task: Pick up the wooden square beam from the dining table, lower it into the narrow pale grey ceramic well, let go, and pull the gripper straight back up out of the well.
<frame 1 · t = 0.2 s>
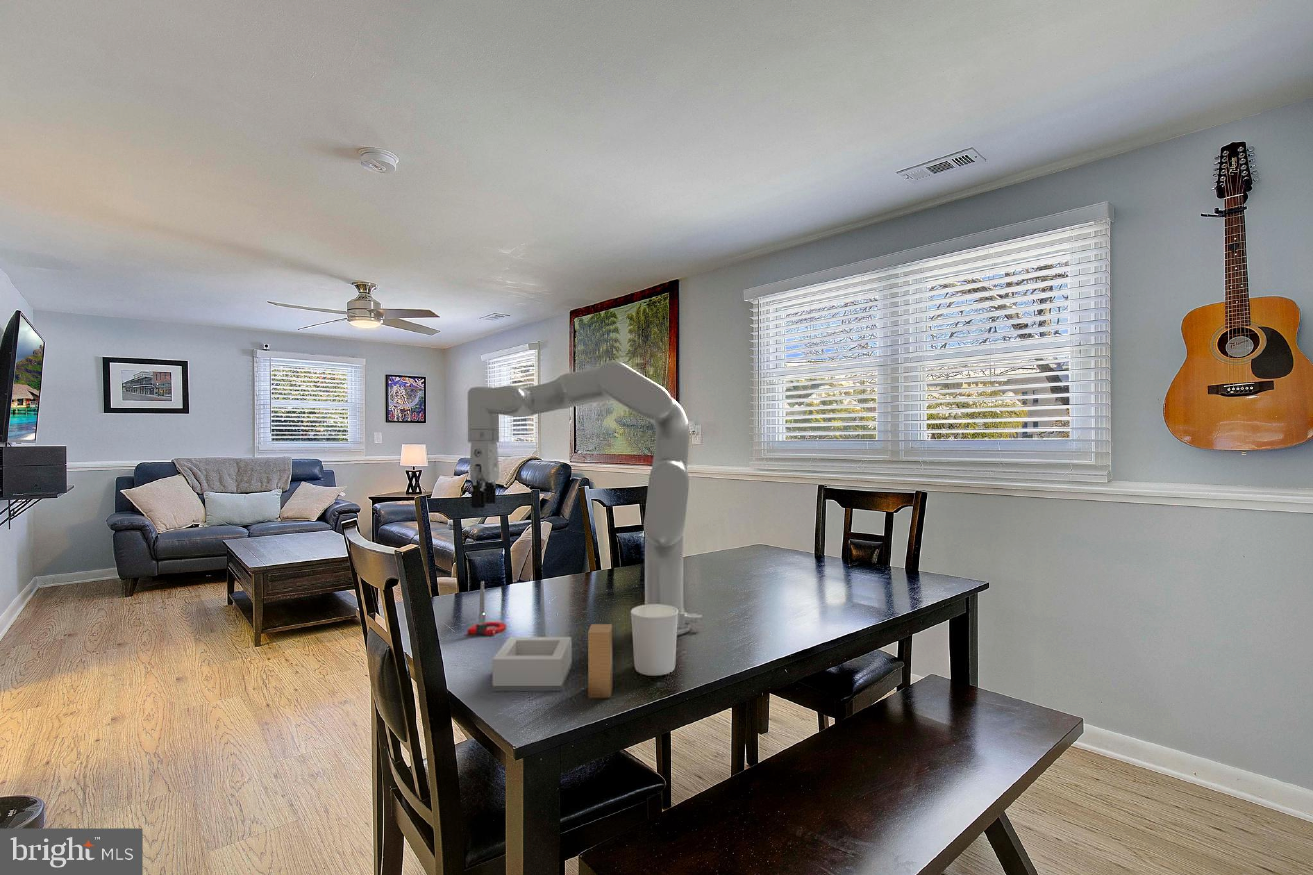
hand: (483, 505, 155), 31 cm above the table, tool pointing down, fingers open, 9 cm apart
candle holder: (654, 669, 129), on the table
wooden square beam: (600, 692, 117), on the table
well: (534, 677, 124), on the table
tow hook: (488, 631, 155), on the table
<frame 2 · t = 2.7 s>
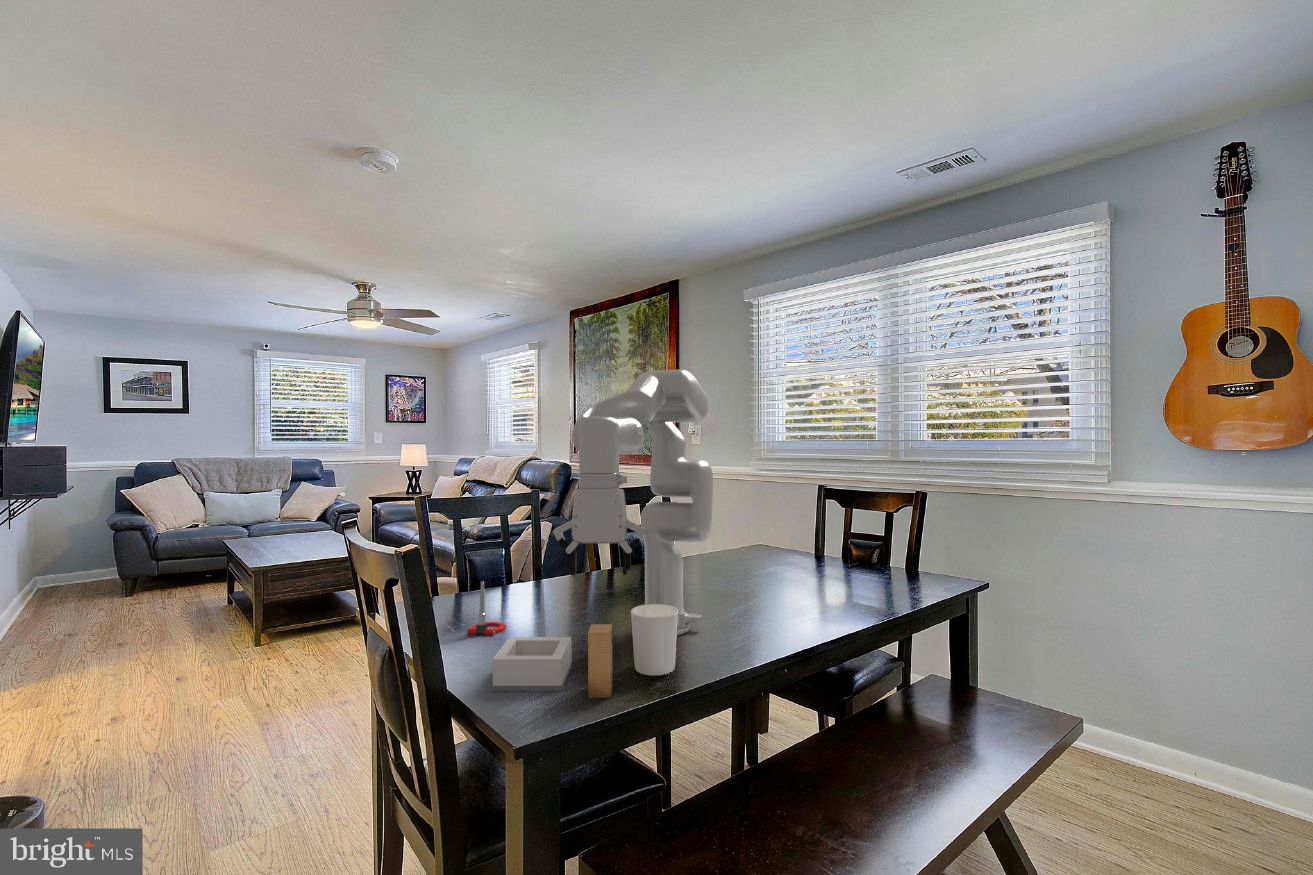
hand: (599, 573, 117), 22 cm above the table, tool pointing down, fingers open, 9 cm apart
nothing on the table moved.
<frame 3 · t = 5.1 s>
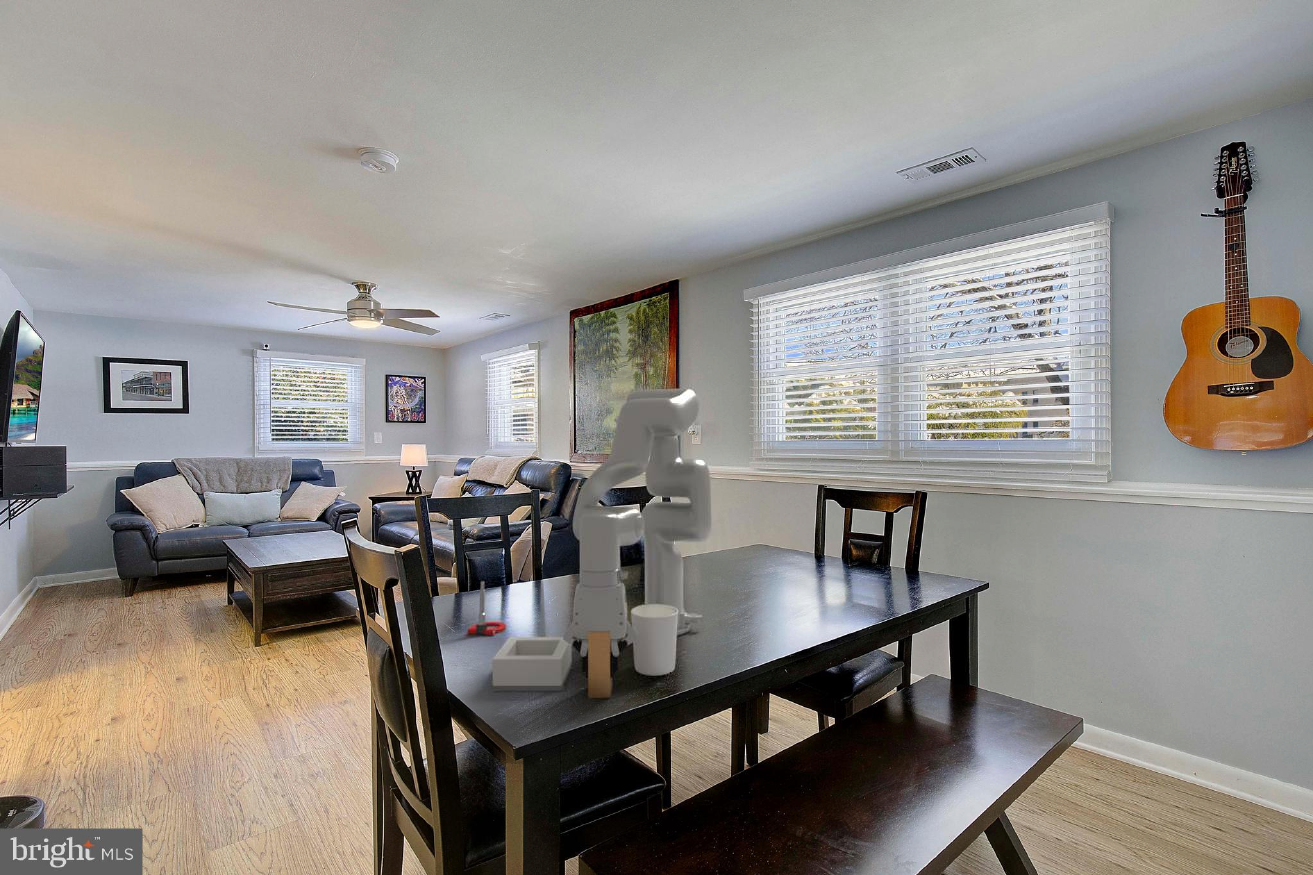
hand: (600, 674, 117), 3 cm above the table, tool pointing down, fingers closed on wooden square beam, 4 cm apart
wooden square beam: (600, 692, 117), on the table, touching gripper
everything else where it was.
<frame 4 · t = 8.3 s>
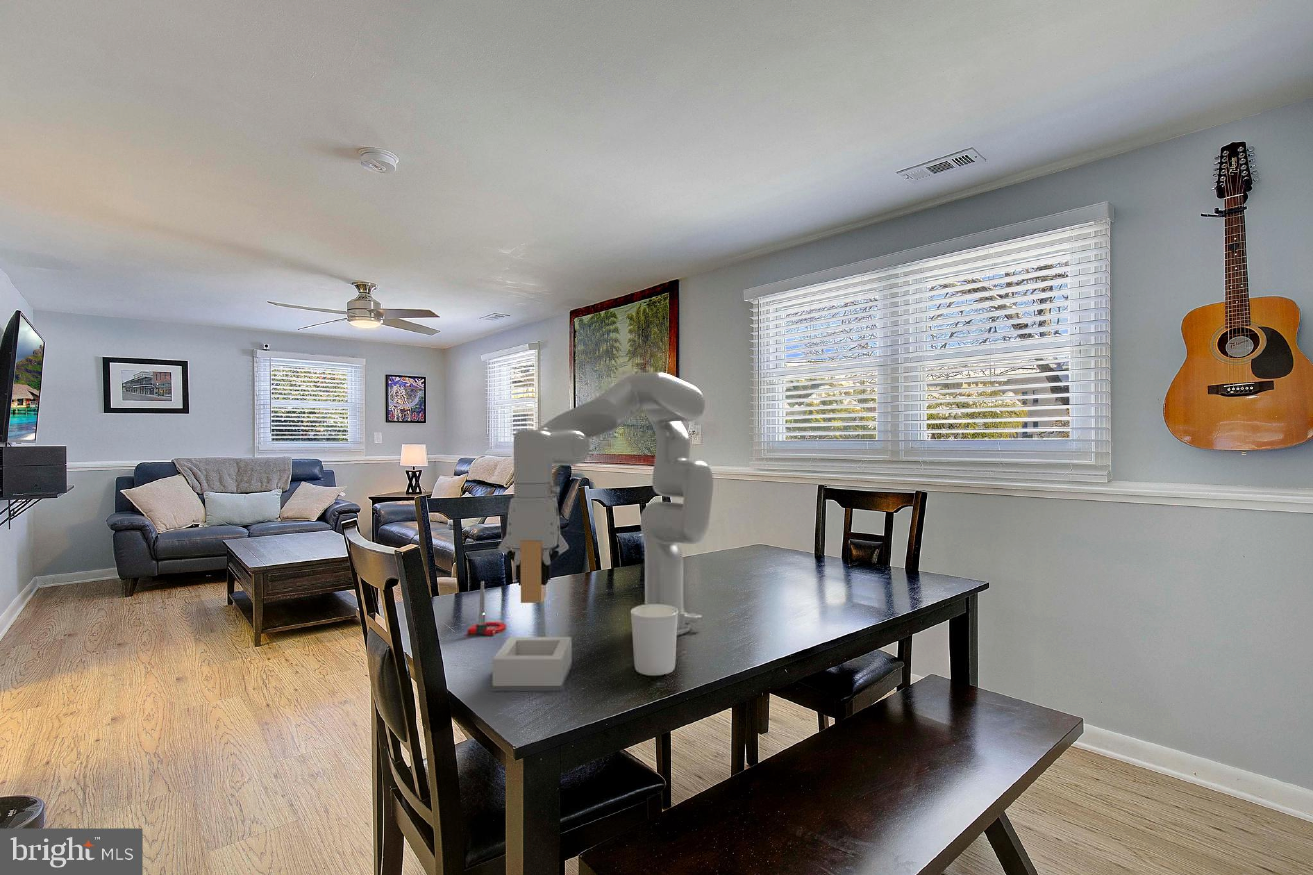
hand: (533, 582, 124), 19 cm above the table, tool pointing down, fingers closed on wooden square beam, 4 cm apart
wooden square beam: (533, 599, 124), point 16 cm above the table, touching gripper
everything else where it was.
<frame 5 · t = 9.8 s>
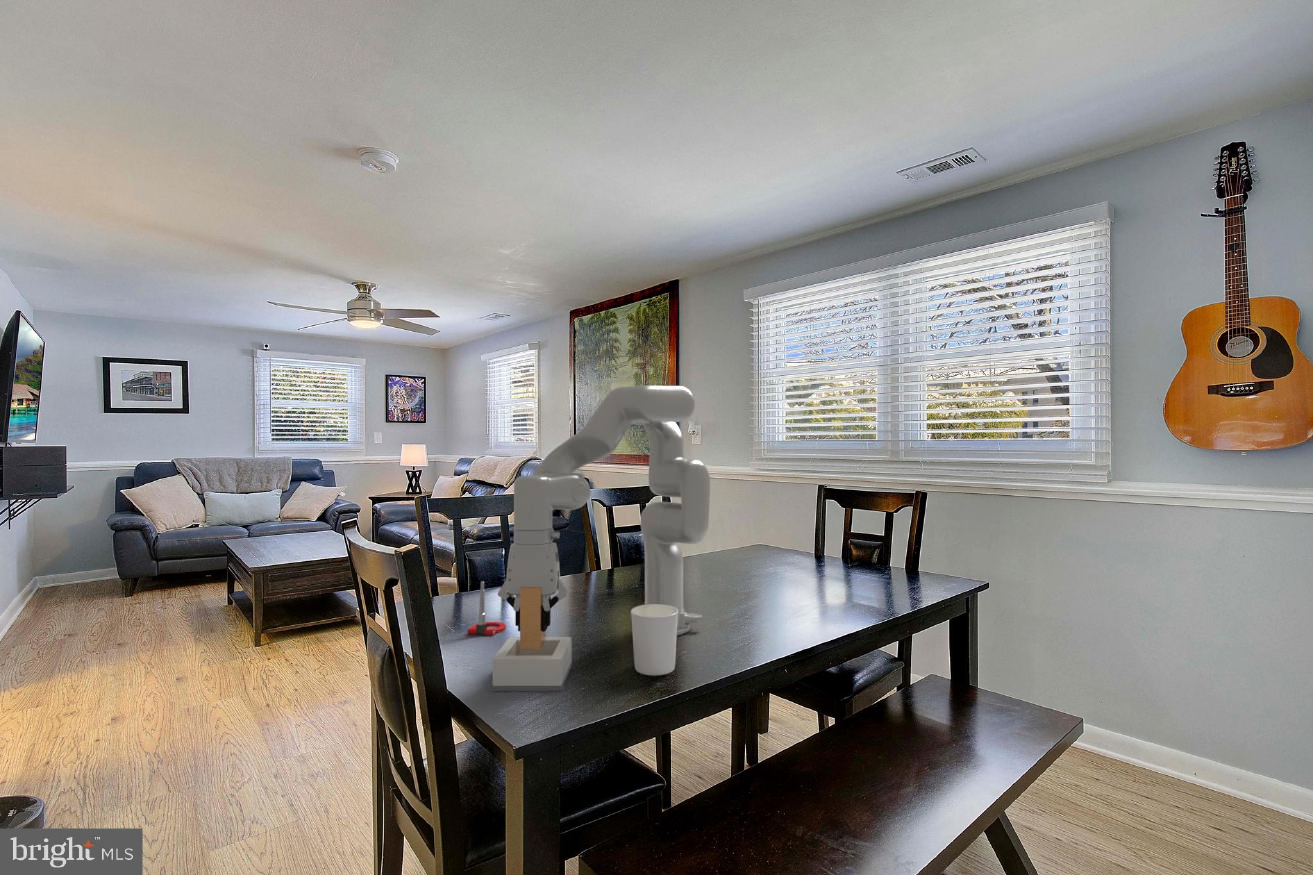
hand: (533, 628, 124), 10 cm above the table, tool pointing down, fingers closed on wooden square beam, 4 cm apart
wooden square beam: (532, 645, 124), point 7 cm above the table, touching gripper
everything else where it was.
when the fingers open (6 cm above the table, at t = 11.3 s): wooden square beam drops 2 cm, resting on well.
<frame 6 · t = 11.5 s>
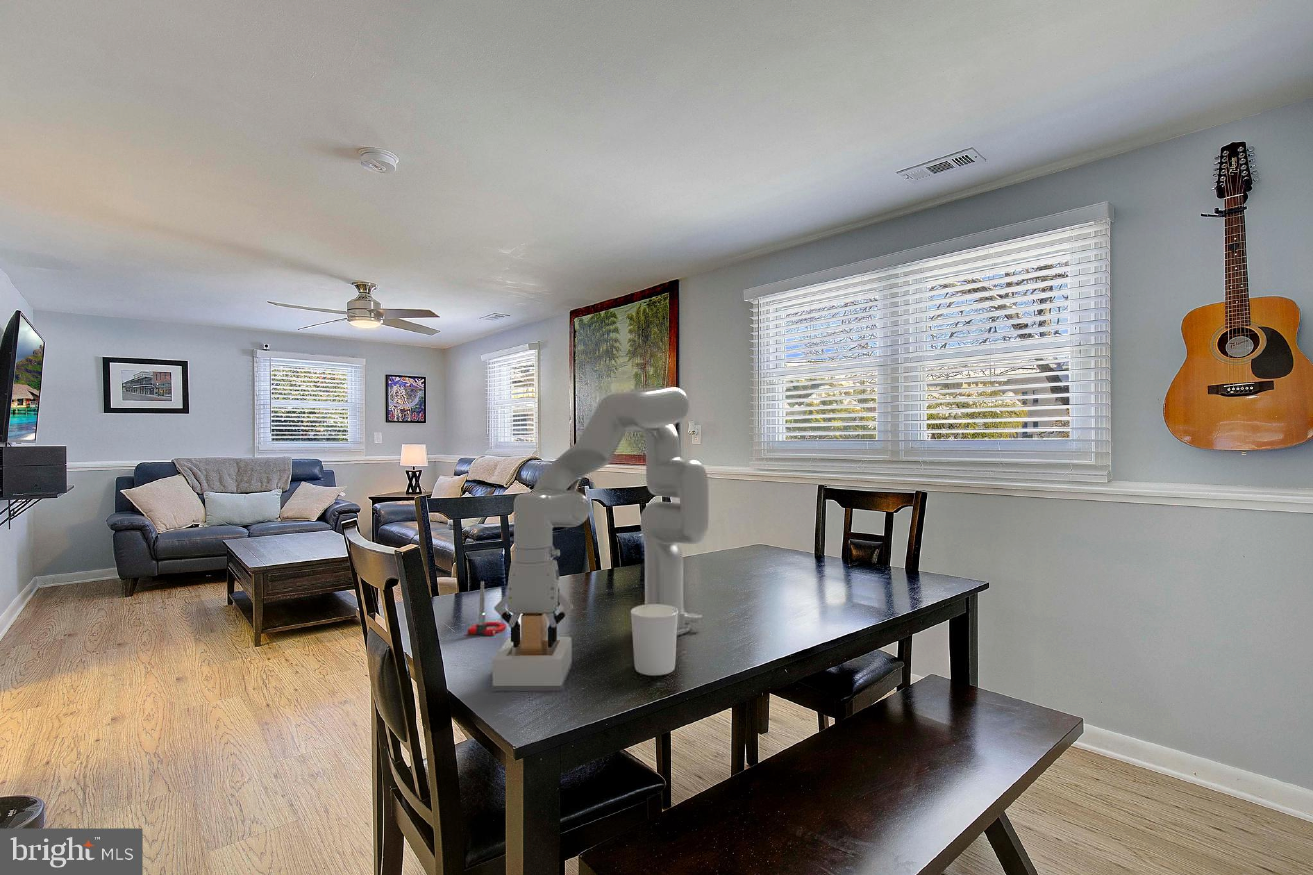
hand: (533, 644, 124), 7 cm above the table, tool pointing down, fingers open, 6 cm apart
wooden square beam: (534, 672, 124), point 1 cm above the table, touching well
everything else where it was.
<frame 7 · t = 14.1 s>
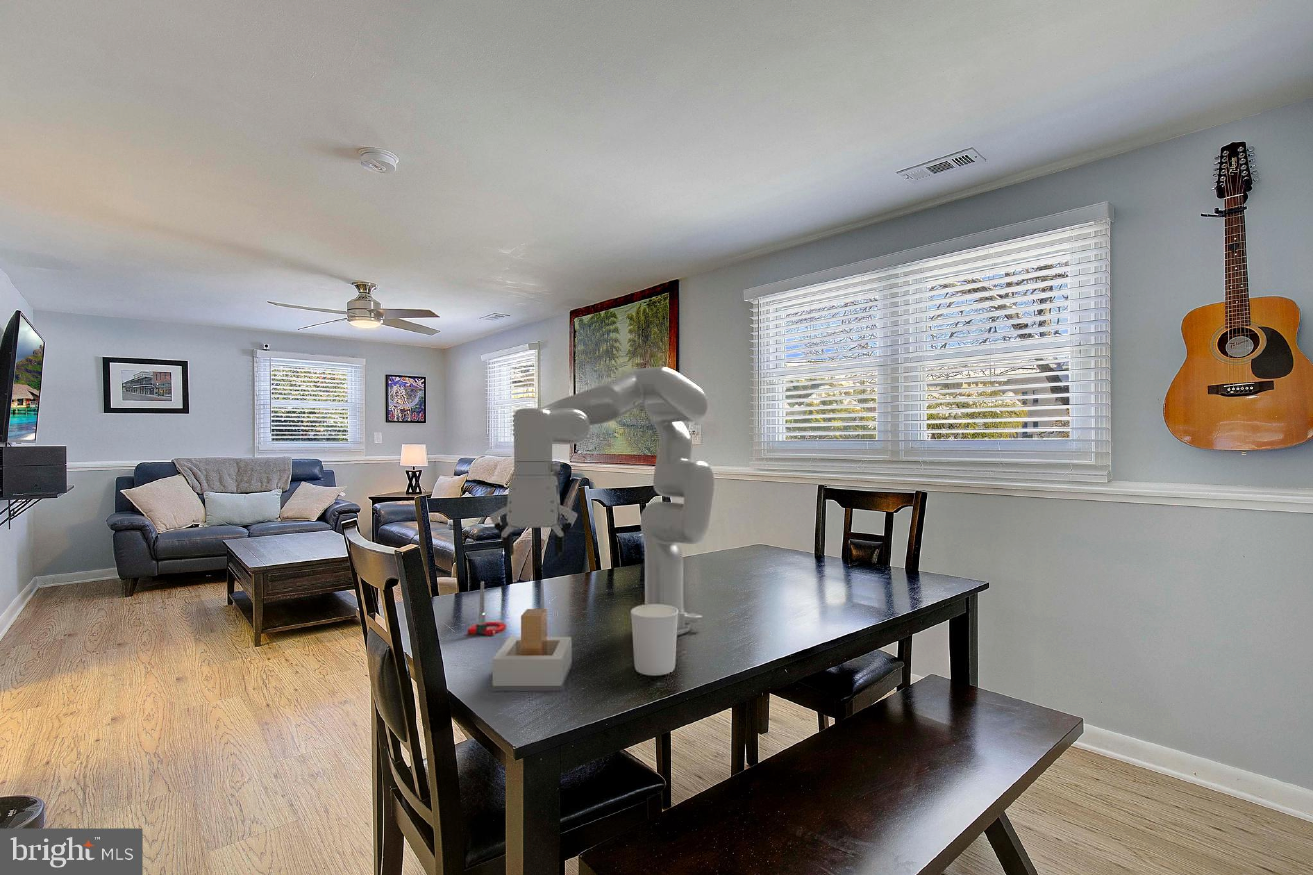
hand: (534, 555, 124), 24 cm above the table, tool pointing down, fingers open, 9 cm apart
nothing on the table moved.
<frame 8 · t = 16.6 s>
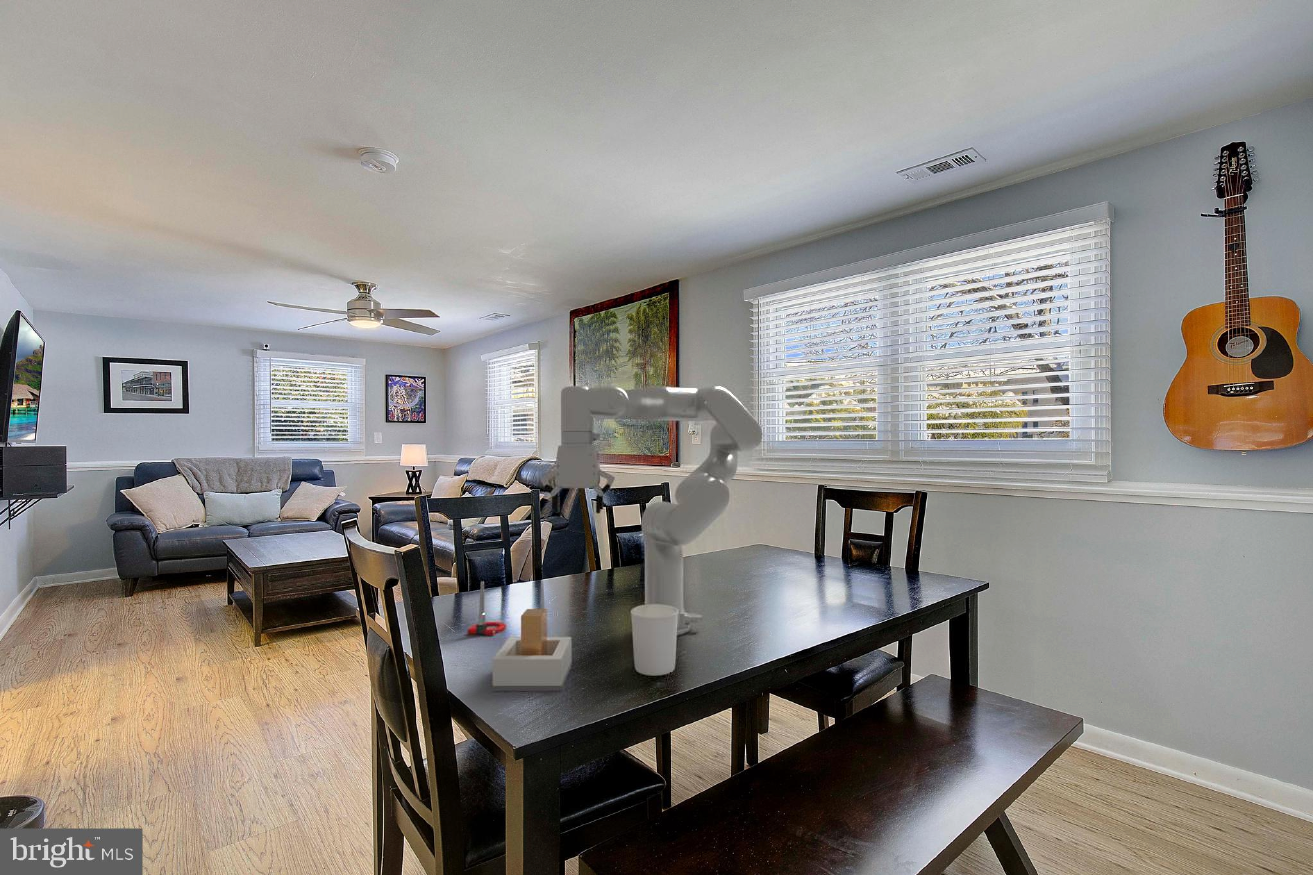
hand: (577, 512, 145), 30 cm above the table, tool pointing down, fingers open, 9 cm apart
nothing on the table moved.
at the end: wooden square beam 0.1 cm off-centre on the well, point 1.0 cm above the well's base; wooden square beam tilted 0°; the gripper is holding nothing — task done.
